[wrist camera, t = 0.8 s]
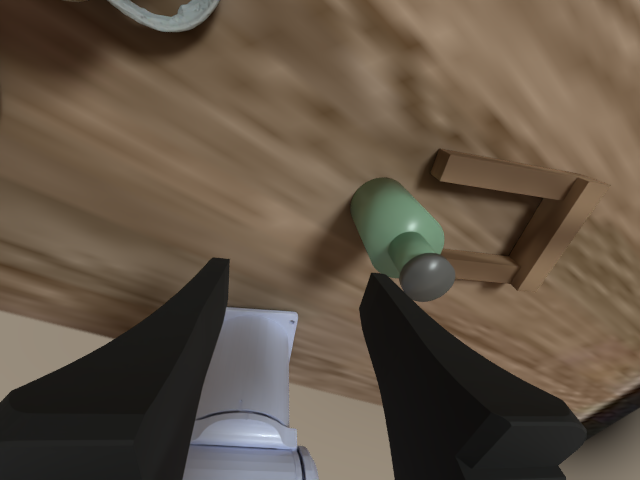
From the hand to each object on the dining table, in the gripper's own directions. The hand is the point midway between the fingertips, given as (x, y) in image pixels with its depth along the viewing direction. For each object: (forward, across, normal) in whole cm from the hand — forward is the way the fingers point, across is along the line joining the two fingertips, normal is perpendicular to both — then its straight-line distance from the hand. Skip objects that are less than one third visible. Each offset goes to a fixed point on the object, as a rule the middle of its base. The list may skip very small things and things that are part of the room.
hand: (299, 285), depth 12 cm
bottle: (+10, -6, 0) cm, 12 cm away
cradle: (+10, -14, 0) cm, 18 cm away
